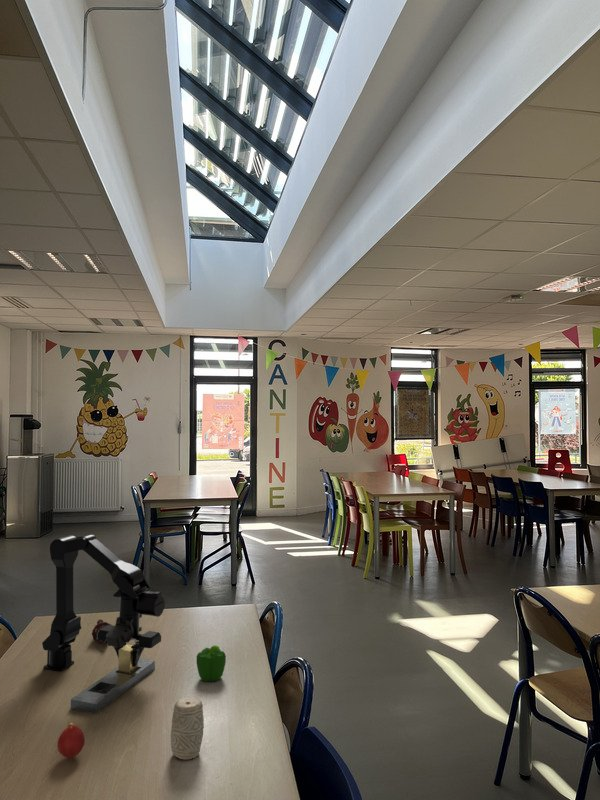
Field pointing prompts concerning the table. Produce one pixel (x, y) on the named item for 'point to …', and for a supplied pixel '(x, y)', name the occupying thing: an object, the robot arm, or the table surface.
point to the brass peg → (126, 660)
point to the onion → (71, 741)
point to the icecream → (97, 627)
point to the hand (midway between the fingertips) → (128, 665)
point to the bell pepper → (211, 663)
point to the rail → (110, 688)
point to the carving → (187, 728)
